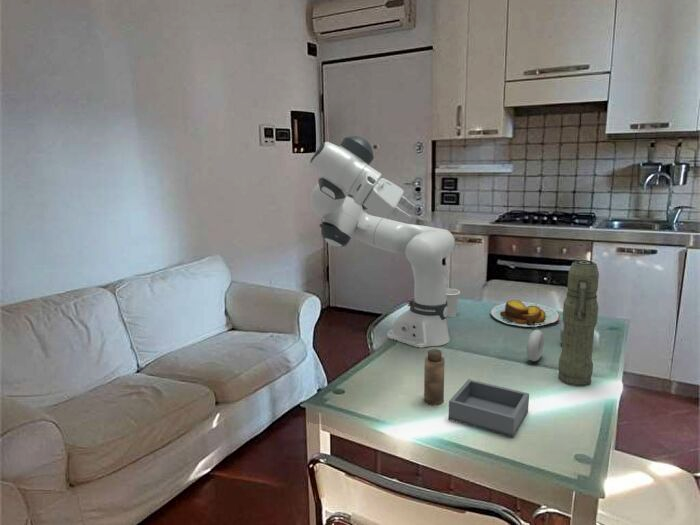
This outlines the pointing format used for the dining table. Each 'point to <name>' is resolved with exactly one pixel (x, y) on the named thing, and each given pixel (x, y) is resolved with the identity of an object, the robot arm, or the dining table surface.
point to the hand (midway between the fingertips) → (411, 214)
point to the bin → (489, 407)
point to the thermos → (579, 324)
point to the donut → (535, 345)
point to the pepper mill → (434, 378)
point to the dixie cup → (452, 301)
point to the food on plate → (524, 313)
